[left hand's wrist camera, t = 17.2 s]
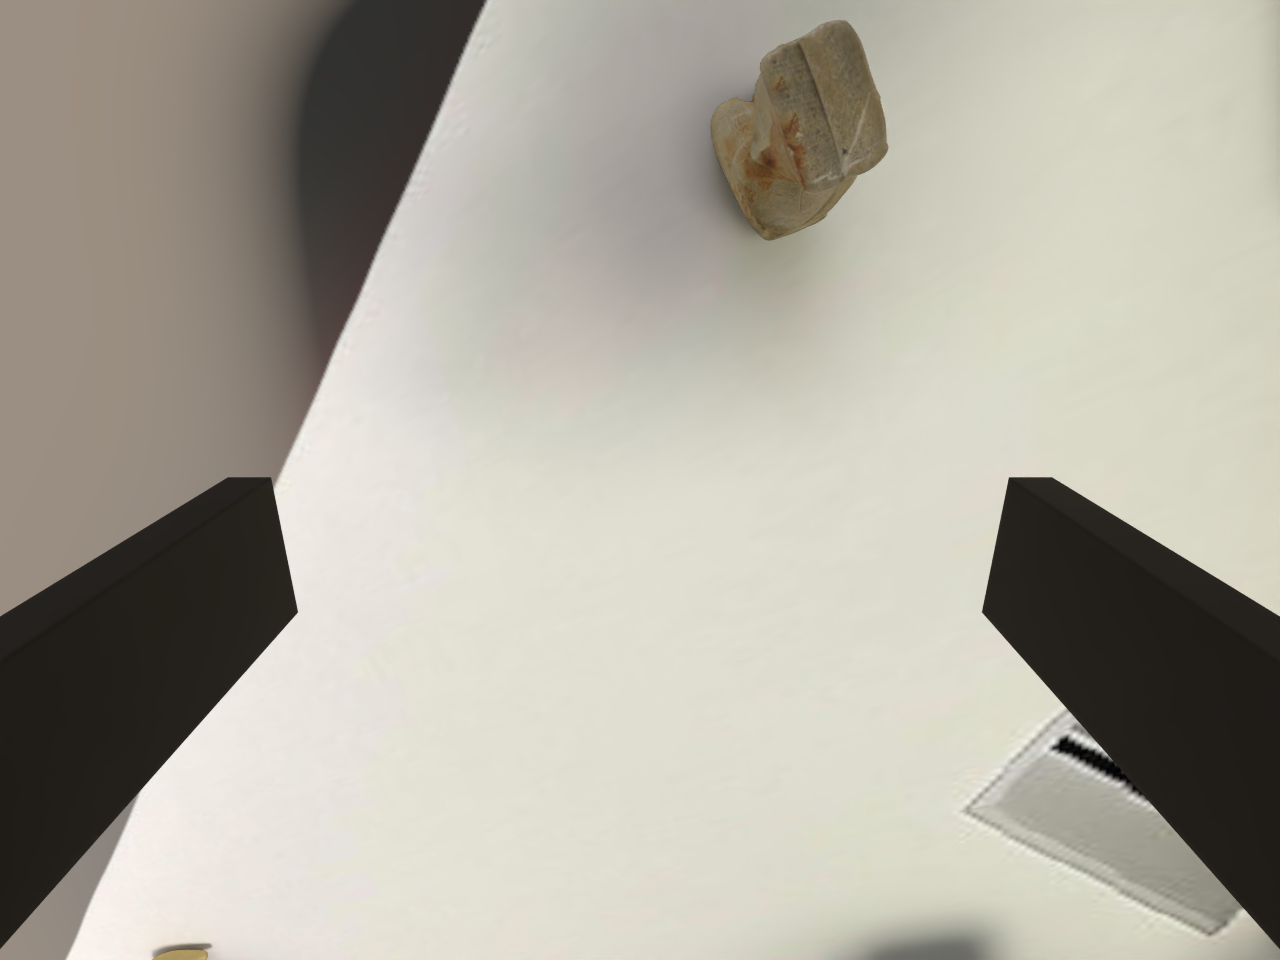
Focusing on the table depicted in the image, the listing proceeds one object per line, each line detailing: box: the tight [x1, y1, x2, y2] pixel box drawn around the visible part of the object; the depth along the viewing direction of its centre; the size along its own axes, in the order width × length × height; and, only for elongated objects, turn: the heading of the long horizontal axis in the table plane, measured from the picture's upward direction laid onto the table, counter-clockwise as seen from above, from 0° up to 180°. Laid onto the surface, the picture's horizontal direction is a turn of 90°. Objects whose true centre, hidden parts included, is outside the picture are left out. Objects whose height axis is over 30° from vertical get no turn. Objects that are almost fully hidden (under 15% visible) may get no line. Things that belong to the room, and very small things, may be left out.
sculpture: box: [711, 20, 888, 240], centre depth 30 cm, size 6×7×15 cm
